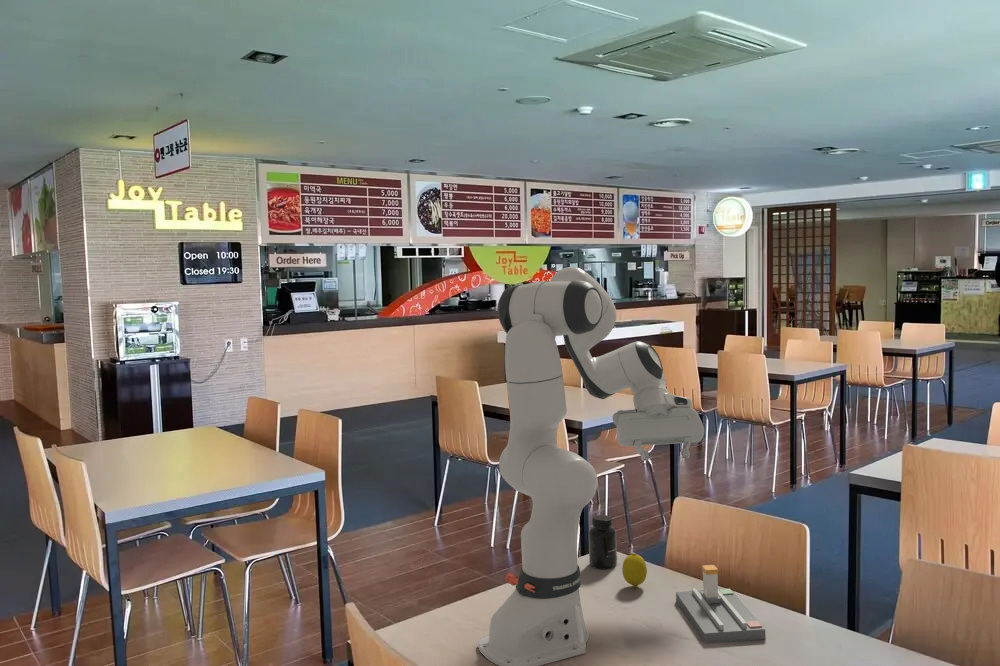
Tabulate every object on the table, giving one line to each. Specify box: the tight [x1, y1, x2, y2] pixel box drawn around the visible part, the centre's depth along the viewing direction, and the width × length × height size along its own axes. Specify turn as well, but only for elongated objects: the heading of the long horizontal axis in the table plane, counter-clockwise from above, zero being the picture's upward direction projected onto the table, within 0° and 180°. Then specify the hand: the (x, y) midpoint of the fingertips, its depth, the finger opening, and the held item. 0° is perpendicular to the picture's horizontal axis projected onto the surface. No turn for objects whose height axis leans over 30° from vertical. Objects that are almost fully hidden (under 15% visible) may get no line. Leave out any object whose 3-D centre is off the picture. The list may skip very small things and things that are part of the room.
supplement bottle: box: [588, 514, 618, 570], centre depth 195 cm, size 7×7×12 cm
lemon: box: [621, 552, 648, 588], centre depth 181 cm, size 6×6×8 cm
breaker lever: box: [701, 564, 721, 604], centre depth 167 cm, size 4×3×7 cm
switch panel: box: [675, 587, 766, 644], centre depth 163 cm, size 20×12×3 cm, turn 3°
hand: (666, 458), depth 181 cm, fingers open, 8 cm apart
